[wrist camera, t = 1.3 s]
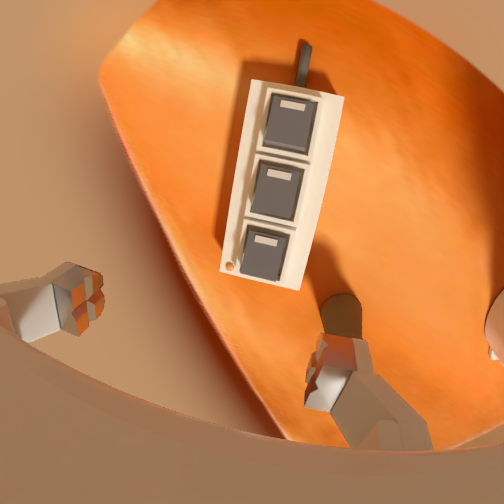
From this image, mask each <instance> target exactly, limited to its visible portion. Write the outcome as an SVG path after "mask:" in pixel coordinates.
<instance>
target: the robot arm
mask: <svg viewBox="0 0 504 504" xmlns="http://www.w3.org/2000/svg"><path fill="white" fill-rule="evenodd" d="M102 286H103V276H102V275H101V274H100V273H99V272H96V271H93V270H91V269H88V268H85V267H82V266H80V265H77V264H74V263H71V262H65V263H63V264H62V265H60V266H59V267H57V268H56V269H54V270H52V271H51V272H49V273H48V274H46V275H45V276H43V277H41V278H31V279H25V280H20V281H15V282H10V283H4V284H0V504H504V443H501V444H495V445H488V446H480V447H472V448H463V449H462V448H461V449H448V450H433V446H432V442H431V438H430V434H429V431H428V427H427V423H426V421H425V420H424V419H423V418H422V417H421V416H420V415H419V414H418V413H417V412H416V411H415V410H414V409H413V408H412V407H411V406H410V405H409V404H408V403H407V402H406V401H405V400H404V399H403V398H402V397H401V396H400V395H399V394H398V393H397V392H396V391H395V390H394V389H393V388H392V387H391V386H390V385H389V384H388V383H387V382H386V381H385V380H384V379H383V378H382V377H381V376H380V375H377V374H375V373H374V368H373V364H372V359H371V355H370V351H369V346H368V342H367V341H366V340H361V339H355V338H347V337H341V336H336V335H330V334H325V333H320V334H319V336H318V339H317V341H316V351H315V352H313V353H312V354H311V357H310V360H309V363H308V366H307V371H306V379H305V382H306V383H307V384H308V385H307V387H306V390H305V396H304V407H305V408H311V409H316V410H321V411H327V412H330V414H331V416H332V418H333V419H334V421H335V423H336V424H337V426H338V427H339V429H340V431H341V432H342V434H343V436H344V437H345V439H346V441H347V442H348V444H349V445H350V447H351V448H341V447H332V446H324V445H316V444H309V443H302V442H296V441H290V440H284V439H278V438H273V437H268V436H263V435H259V434H254V433H249V432H245V431H241V430H237V429H233V428H229V427H225V426H221V425H218V424H214V423H211V422H207V421H204V420H200V419H197V418H194V417H191V416H188V415H185V414H182V413H179V412H176V411H173V410H170V409H167V408H164V407H161V406H158V405H156V404H153V403H150V402H148V401H145V400H143V399H140V398H137V397H135V396H132V395H130V394H127V393H125V392H123V391H120V390H118V389H116V388H113V387H111V386H109V385H107V384H104V383H102V382H100V381H98V380H96V379H94V378H92V377H90V376H87V375H85V374H83V373H81V372H79V371H77V370H75V369H73V368H71V367H70V366H67V365H66V364H64V363H62V362H60V361H58V360H56V359H54V358H53V357H51V356H49V355H47V354H46V353H44V352H42V351H40V350H39V349H37V348H35V347H34V346H32V345H30V344H29V342H32V341H34V340H37V339H39V338H42V337H44V336H47V335H49V334H52V333H54V332H57V331H59V330H61V329H62V330H64V331H67V332H69V333H71V334H73V335H76V336H78V337H79V336H80V335H81V333H83V332H84V331H85V330H86V329H87V328H88V327H89V322H90V321H93V320H96V319H97V318H98V317H99V316H100V315H101V313H102V311H103V309H104V302H105V300H104V294H103V293H102V291H101V287H102ZM485 336H486V339H487V341H488V343H489V346H490V347H489V356H490V358H491V359H492V360H498V359H499V361H500V362H501V363H502V365H503V366H504V290H503V291H502V292H501V293H500V294H499V296H498V297H497V298H496V300H495V302H494V303H493V305H492V307H491V309H490V311H489V314H488V317H487V320H486V324H485Z"/></svg>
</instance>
